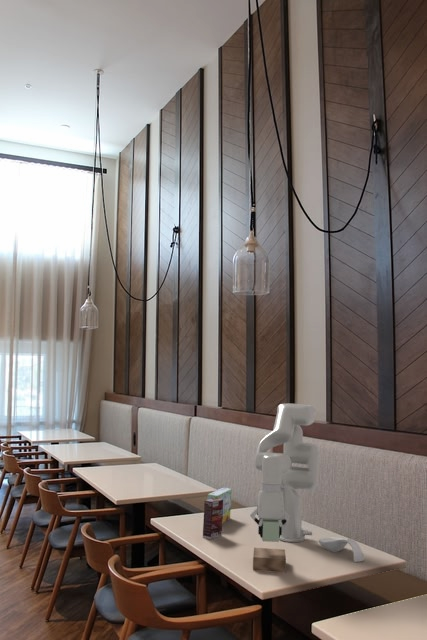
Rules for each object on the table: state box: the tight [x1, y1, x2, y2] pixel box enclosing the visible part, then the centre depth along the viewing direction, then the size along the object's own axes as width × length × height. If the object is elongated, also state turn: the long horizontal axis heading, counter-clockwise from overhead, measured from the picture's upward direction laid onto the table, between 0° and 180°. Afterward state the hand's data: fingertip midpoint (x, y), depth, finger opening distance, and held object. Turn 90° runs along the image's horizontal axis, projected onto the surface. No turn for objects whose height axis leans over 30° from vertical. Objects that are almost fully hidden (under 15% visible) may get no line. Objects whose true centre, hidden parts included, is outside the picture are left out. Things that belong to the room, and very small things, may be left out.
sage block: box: [260, 519, 280, 543], centre depth 212 cm, size 6×6×7 cm
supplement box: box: [202, 498, 223, 540], centre depth 249 cm, size 9×5×16 cm, turn 143°
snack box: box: [206, 487, 233, 524], centre depth 274 cm, size 21×6×15 cm, turn 159°
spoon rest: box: [318, 536, 365, 563], centre depth 231 cm, size 24×12×7 cm, turn 25°
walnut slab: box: [252, 547, 287, 573], centre depth 211 cm, size 12×12×5 cm
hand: (269, 536), depth 212 cm, fingers closed on sage block, 6 cm apart
